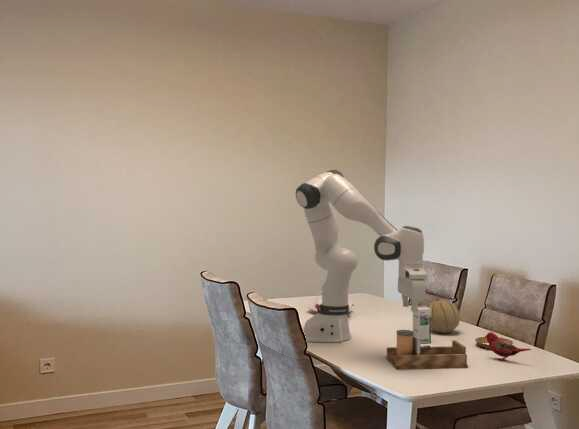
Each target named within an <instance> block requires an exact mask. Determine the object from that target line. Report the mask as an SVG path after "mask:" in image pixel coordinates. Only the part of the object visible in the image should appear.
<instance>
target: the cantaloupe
mask: <svg viewBox="0 0 579 429" xmlns="http://www.w3.org/2000/svg"><path fill="white" fill-rule="evenodd" d="M428 307H429V308H431V330H432V331H434V332H436V333H441V334H447V333H450V332H452V331H454V330H455V329H457V328H458V326H459V324H460V321H461V316H460V311H459V309H458V308H457V306H456V305H455V304H454V303H453V302H452V301H450V300H447V299H440V298H436V299H435V301H433V302H432V303H431V304H430V305H429V306H428Z"/></svg>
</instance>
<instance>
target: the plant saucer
mask: <svg viewBox="0 0 579 429" xmlns="http://www.w3.org/2000/svg"><path fill="white" fill-rule="evenodd" d="M499 338H500V339H501V340H503V341H505V342H508V343H510V344H512V345H513V344H514V342H513V341H512V340H511V339H508V338H505V337H499ZM474 341H475V343H476V344H477V345H478V346H479V347H480V346H481V347H480V348H482V347H483V349H485V348H487V349H486V350H491V348H490V346H489V345H487V344H485V343H488V341H487V338H486V337H485V336H480V337H476V338H475V339H474ZM483 343H484V344H483Z"/></svg>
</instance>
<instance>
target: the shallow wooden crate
mask: <svg viewBox="0 0 579 429" xmlns="http://www.w3.org/2000/svg"><path fill="white" fill-rule="evenodd" d="M451 343H452V344H451V345H450V346H449V345H448V346H447V345H445V346H441V345H440V346H430V347H431V349H430V350H420V355H396V351H397V346H395V347H394V346H393V347H392V346H391V347H386V356H385V359H386V361H388V363H390V365H392V367H394V368H395V370H396V371H397V370H433V369H435V370H436V369H438V370H439V369H442V368H443V369H468V367H469V365H468V354H467V353H466V352H467V347H466V346H465V345H463V344H462V343H460V342H459V341H458V340H452V342H451Z"/></svg>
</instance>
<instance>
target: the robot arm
mask: <svg viewBox="0 0 579 429" xmlns="http://www.w3.org/2000/svg"><path fill="white" fill-rule="evenodd" d="M295 199H296V201H297V203H298V205H300V207H302V208H303V210H304V211H303V212H304V214H305V215H304V216H305V218H306V222H307V224H308V227H309V229H310V232H311V235H312V238H313V241H314V247H315V253H314V260H315V263H316V264H317V265H318V267H320V268H322V269H323V270H325V271H327V274H326V279H325V281H324V283H323V285H322V287H321V295H322V304H321V305H319V304H316V305H315V308H316V309H317V312H316V313H315V314H314V315H312V317H311V316H310V318H309V319H307V320H305V323H304V326H303V331H304V333H305V336H306V340H307V341H306V343H308V342H311V343H313V342H314V343H315V342H316V343H342V342H344V341H349V340H351V338H352V335H351V331H350V325H349V317H350V310H349V305H348V301H349V288H350V287H349V285H350V281H351V278H352V274H353V272H354V271H355V270H356V269H357V266H358V257H357V255H356V254H355V252H353V251H352V250H350V249H348V248H346V247H343V246H342V247H341V245H339V240H338V233H339V227H338V225H337V222H336V218H335V216H334V213H333V211H332V208H331V207H330V204H331V206H332V207H333V208H334V209H335V210H336V211H337V213H339V214H340V215H341V216H342V217H344V218H345V219H347V220H350V221H354V222H358V223H360V224H364V225H367V226H368V227H370V228H371V229H372V230H373V231H374V232H375V233H376V234H377V235H378V236H379V237H378V238H377V239H376V240H375V241H374V245H373V250H374V253H375V256H377V258H378V259H379V260H382V261H387V262H388V261H396V260H397V261H398V278H397V292H398V293H399V294H401V298H402V306H403V307H404V308H409V306H410V305H409V304H410V302H409V299H410V300H411V303H412V304H411V305H412V306H411V307H410V309H411V310H410V311H411V312H412V313H413V312H417V307H419V303H420V302H423V301H424V300H425V297H426V290H427V289H426V287H427V285H426V284H427V282H426V280H427V279H428V272H426V270H425V268H424V264H425V263H424V260H423V256H424V251H425V241H424V240H425V238H424V233H423V231H422V230H421V229H420V228H418V227H415V226H409V225H404V226H401V227H400V228H399V229H397V228H396V227H394V225H393V224H392V223H390V222H389V221H388V219H386V217H384V215H382V214H381V213H380V212H379V211H378V210H377V209H375V207H374V206H373V205H372V204H371V203H370V202H369V201H368V200H367V199H366V198H365V197H364V196H363V195H362V193H360V191H359V190H358V189H357V188H356V187H355V185H353V184H352V183H351V182H349V180H347V179H346V178H345V176H344V175H343V174H342V172H340V171H339V170H337V169H331V170H330V169H329V170H327V171H326V172H323V173H320V174H318V175H316V176H315V175H314V177H312V178H311V179H309V180H308V181H306V182H303V183H301V184H300V185H299V186H298V187H296V190H295Z"/></svg>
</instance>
